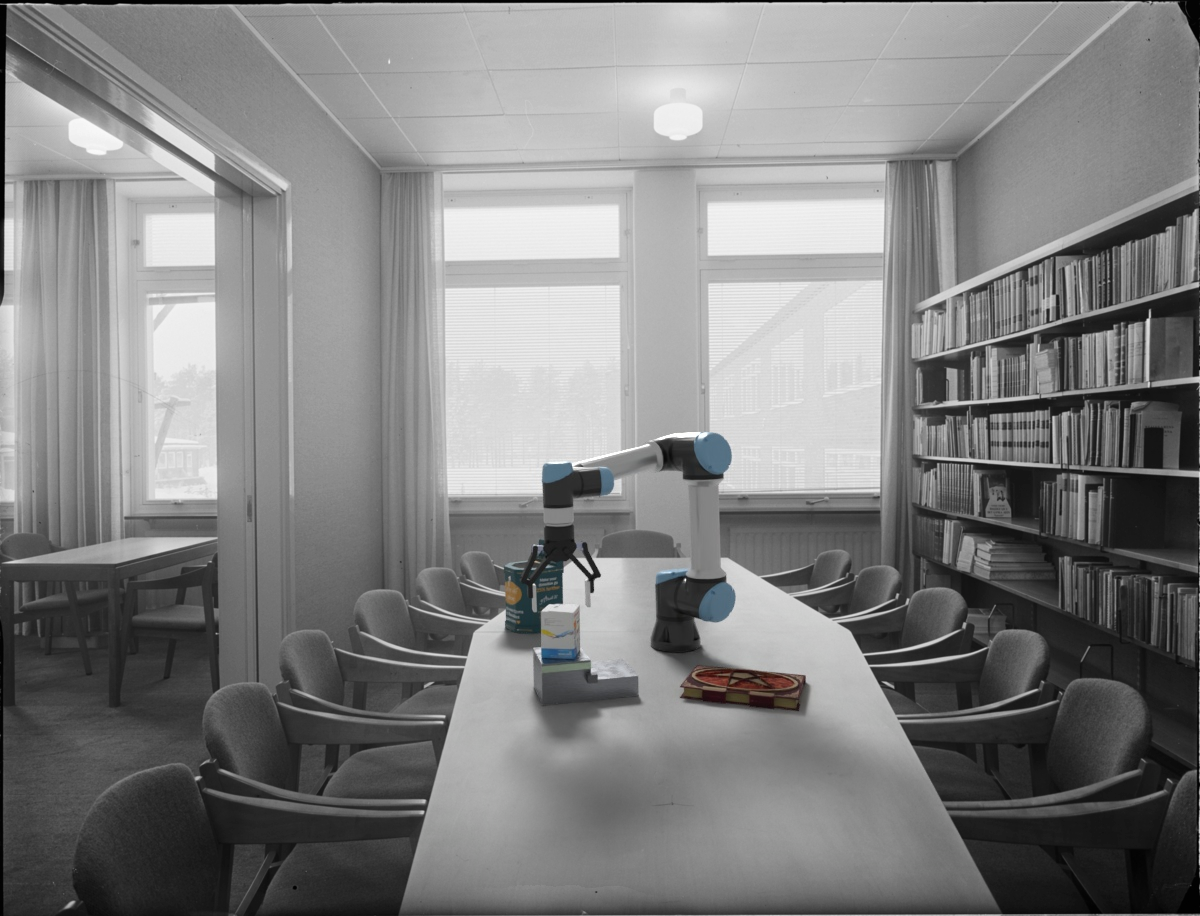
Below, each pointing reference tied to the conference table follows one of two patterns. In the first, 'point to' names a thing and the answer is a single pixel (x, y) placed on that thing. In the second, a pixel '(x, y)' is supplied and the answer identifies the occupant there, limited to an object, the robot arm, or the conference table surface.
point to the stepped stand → (581, 679)
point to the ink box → (560, 631)
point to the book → (744, 687)
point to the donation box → (517, 599)
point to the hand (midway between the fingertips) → (561, 608)
